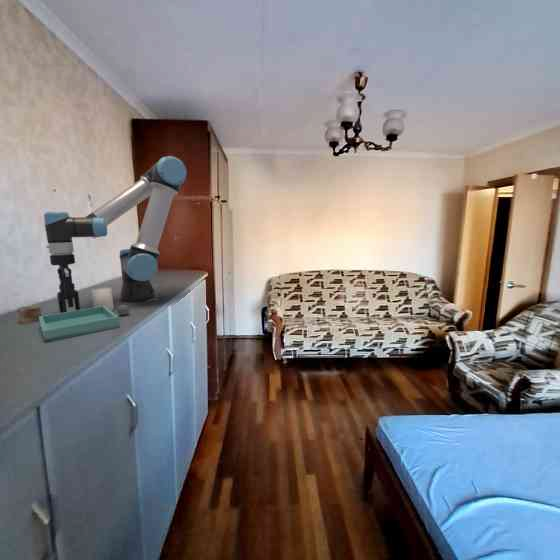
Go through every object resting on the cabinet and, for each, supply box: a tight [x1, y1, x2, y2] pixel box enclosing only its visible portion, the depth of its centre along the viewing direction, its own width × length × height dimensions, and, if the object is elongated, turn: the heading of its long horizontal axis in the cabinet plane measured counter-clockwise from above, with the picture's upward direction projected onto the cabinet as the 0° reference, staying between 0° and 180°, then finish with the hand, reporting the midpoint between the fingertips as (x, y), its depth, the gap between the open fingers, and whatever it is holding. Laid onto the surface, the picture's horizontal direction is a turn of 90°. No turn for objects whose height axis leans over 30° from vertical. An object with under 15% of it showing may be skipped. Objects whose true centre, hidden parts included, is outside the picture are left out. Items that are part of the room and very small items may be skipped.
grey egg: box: [117, 304, 130, 316], centre depth 115 cm, size 4×4×4 cm
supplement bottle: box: [56, 282, 81, 313], centre depth 117 cm, size 7×7×12 cm
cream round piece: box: [90, 286, 115, 312], centre depth 122 cm, size 7×7×9 cm
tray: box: [38, 306, 120, 343], centre depth 103 cm, size 20×20×4 cm
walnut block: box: [17, 305, 42, 325], centre depth 110 cm, size 5×5×5 cm
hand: (70, 312), depth 118 cm, fingers closed on supplement bottle, 7 cm apart
